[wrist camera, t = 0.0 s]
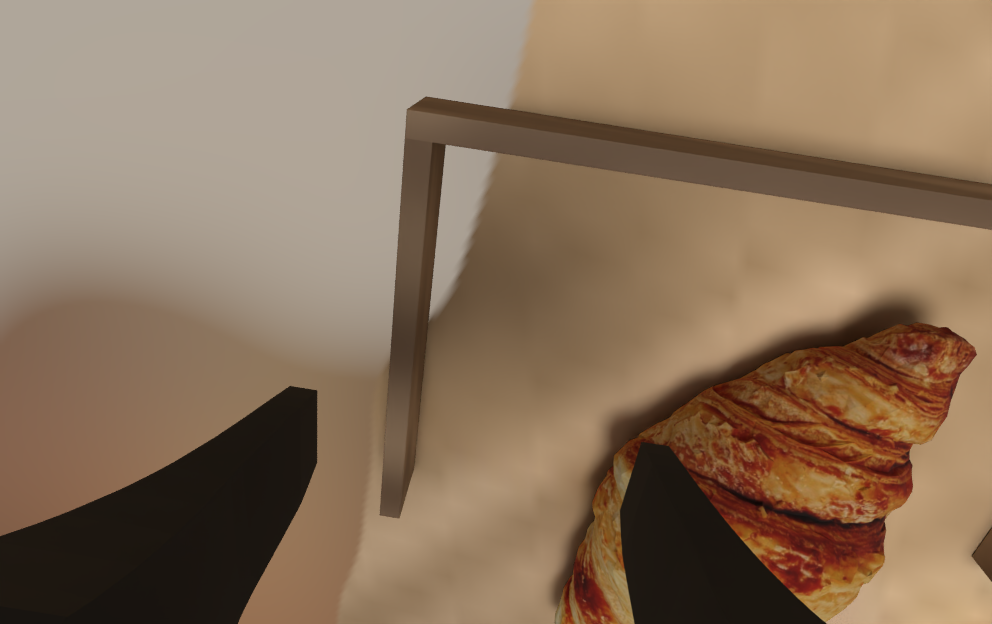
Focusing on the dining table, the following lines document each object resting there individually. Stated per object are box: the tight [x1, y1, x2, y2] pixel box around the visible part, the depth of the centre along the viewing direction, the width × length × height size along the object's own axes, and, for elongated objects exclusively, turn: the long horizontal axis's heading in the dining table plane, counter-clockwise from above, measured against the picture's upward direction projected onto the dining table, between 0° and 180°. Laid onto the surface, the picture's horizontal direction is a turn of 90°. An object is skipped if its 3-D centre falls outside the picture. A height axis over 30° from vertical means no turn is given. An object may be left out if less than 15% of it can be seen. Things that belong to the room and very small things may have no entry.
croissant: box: [555, 323, 977, 624], centre depth 24 cm, size 21×10×8 cm, turn 147°
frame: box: [380, 97, 992, 581], centre depth 22 cm, size 16×27×3 cm, turn 82°
